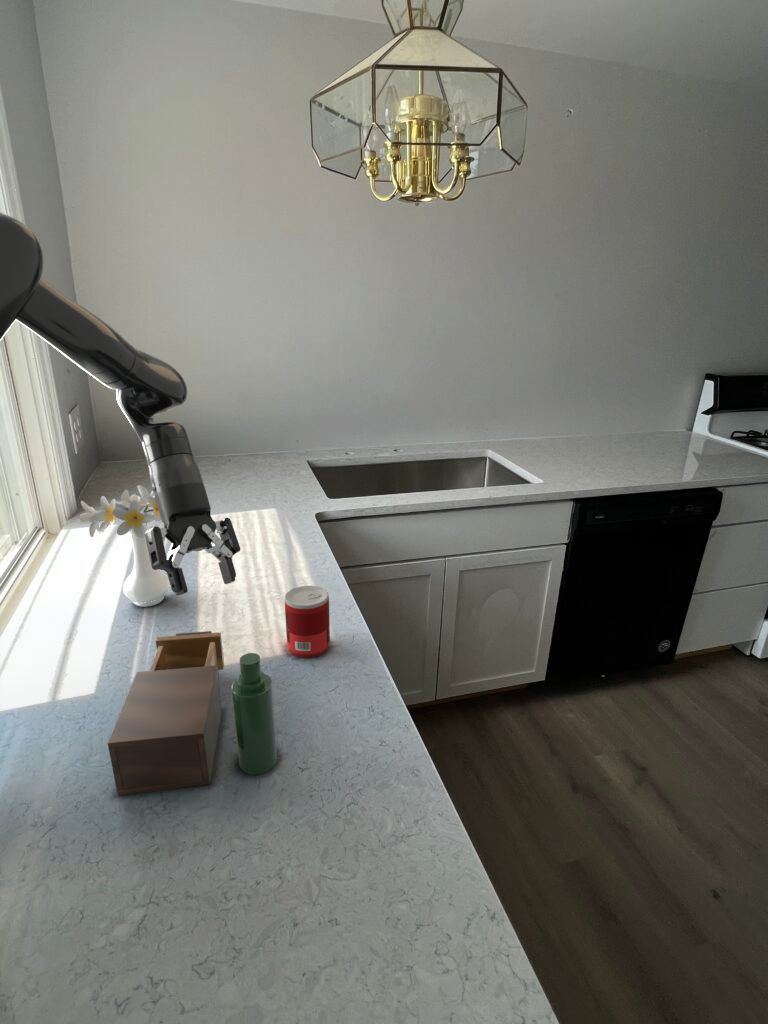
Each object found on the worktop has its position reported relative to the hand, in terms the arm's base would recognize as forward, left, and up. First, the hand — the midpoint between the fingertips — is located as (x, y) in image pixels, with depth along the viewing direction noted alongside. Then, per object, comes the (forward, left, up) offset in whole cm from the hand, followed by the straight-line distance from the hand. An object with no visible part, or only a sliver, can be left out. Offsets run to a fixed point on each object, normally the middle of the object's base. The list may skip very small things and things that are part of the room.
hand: (207, 588), depth 85 cm
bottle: (+7, -16, -19) cm, 26 cm away
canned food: (+15, +11, -20) cm, 27 cm away
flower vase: (-19, +33, -20) cm, 43 cm away
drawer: (-5, +1, -19) cm, 19 cm away
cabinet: (-5, -12, -19) cm, 23 cm away
